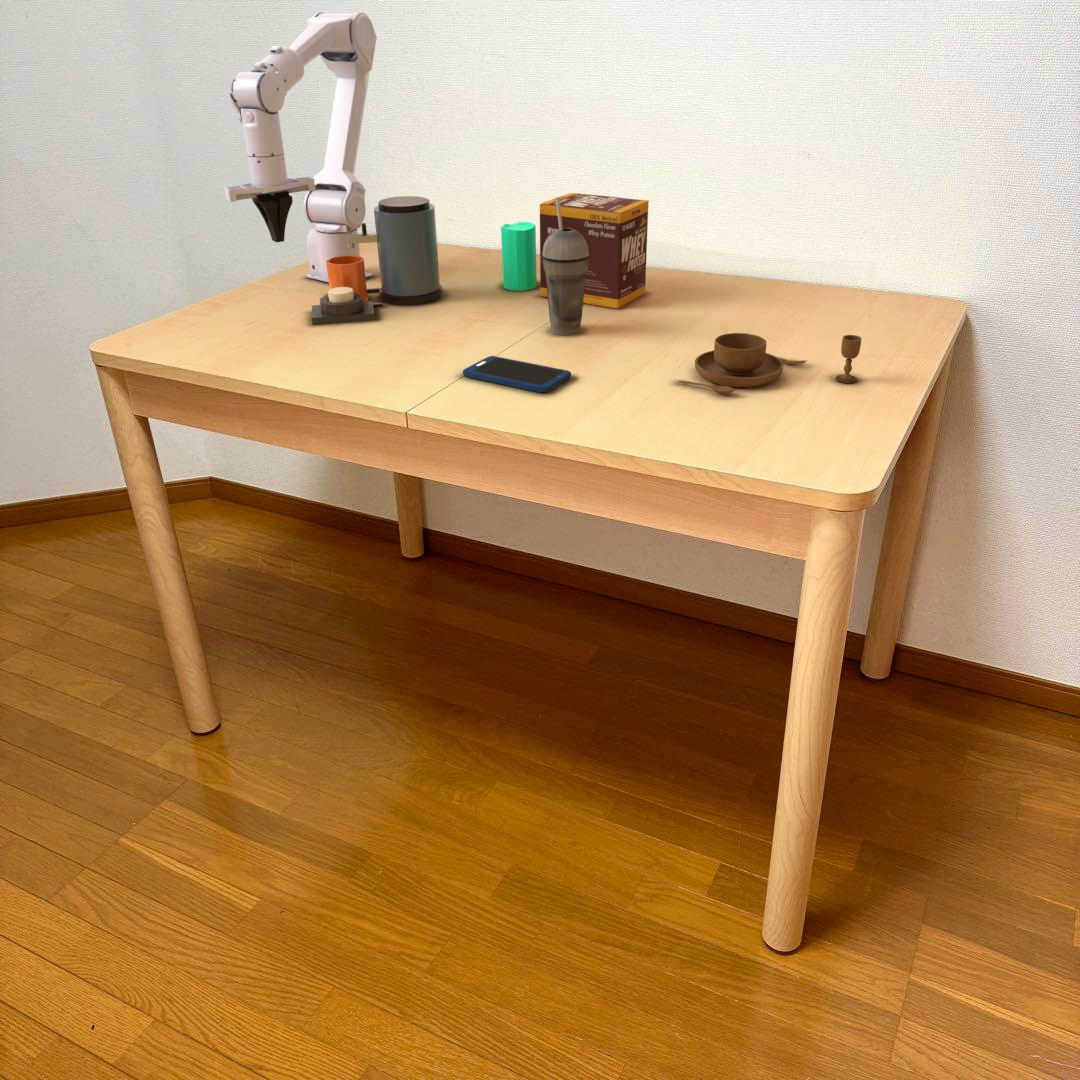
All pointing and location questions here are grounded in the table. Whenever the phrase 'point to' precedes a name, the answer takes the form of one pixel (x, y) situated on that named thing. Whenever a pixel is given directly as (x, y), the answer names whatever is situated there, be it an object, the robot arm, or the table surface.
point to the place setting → (755, 362)
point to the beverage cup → (565, 277)
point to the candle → (519, 256)
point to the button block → (342, 311)
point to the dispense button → (341, 294)
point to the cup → (347, 274)
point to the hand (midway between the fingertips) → (278, 240)
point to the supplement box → (603, 244)
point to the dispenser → (405, 251)
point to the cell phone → (517, 374)
